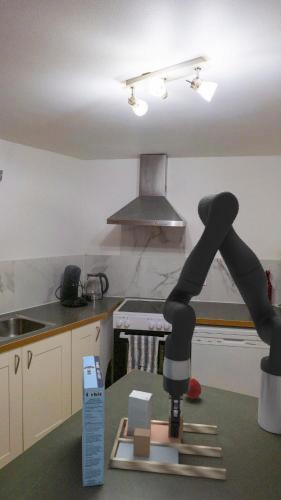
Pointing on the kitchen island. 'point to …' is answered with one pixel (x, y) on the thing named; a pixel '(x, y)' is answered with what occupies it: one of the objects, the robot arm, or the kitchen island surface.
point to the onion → (194, 388)
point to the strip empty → (146, 449)
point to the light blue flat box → (92, 422)
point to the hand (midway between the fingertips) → (174, 432)
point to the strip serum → (161, 432)
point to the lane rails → (182, 448)
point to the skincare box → (139, 411)
